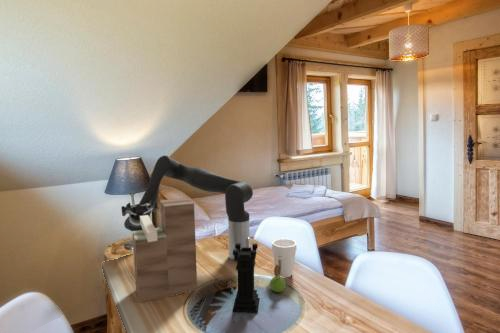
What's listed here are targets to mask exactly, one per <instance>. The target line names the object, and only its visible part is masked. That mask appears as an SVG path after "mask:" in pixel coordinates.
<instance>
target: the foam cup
mask: <svg viewBox="0 0 500 333" xmlns="http://www.w3.org/2000/svg"><path fill="white" fill-rule="evenodd" d="M271 250H272V255H273V261H274V266H275V265H276V264H277V263H278V260H279V259H281V260H282V262H281V274H280V276H282V277H288V276H291V275H292V276H293V273H294V266H295V259H296V251H297V242H296V241H295V240H294V239H289V238H278V239H275V240H273V241H272V243H271ZM279 255H280V256H282V257H279Z"/></svg>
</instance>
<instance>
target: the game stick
mask: <svg viewBox="0 0 500 333" xmlns="http://www.w3.org/2000/svg"><path fill="white" fill-rule="evenodd" d="M140 224H141V227H142V229H143V232H144V234H145V236H146V239H147V241H148V242H152V241H157V231H156V229H155V228H156V227H155V225H154V224H153V222H152V219H151V218H150V217H149V216H148V215H144V216H140Z"/></svg>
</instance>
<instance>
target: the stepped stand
mask: <svg viewBox="0 0 500 333" xmlns="http://www.w3.org/2000/svg"><path fill="white" fill-rule="evenodd" d="M159 206H160V207H159V208H160V209H159V210H160V212H159V213H160V227H155V229H156V231H157V241H152V242H148V241H147V239H146V236H145V234H144V232H143V230H137V231H131V232H132V245H133V261H134V275H135V277H134V279H135V289H136V290H135V291H136V296H137V299H138V303H139V304H140V302H141V303H145V301H146V302H150V301H149V300H151V301H154V299H155V300H159V298H160V299H164V298H163V297H165V298H168V297H167V296H169V297H172V296H171V295H174V296H177V295H176V294H179V295H181V294H180V293H184V294H186V293H185V292H188V293H190V292H189V291H193V292H195V291H194V290H197V291H198V278H197V277H198V273H197V250H196V249H197V247H196V246H197V245H196V223H195V218H196V216H195V203H194V202H193V201H192V200H191V199H190V198H188V197H181V198H179V197H178V198H171V199H161V200H160V199H159Z"/></svg>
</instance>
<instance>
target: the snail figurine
mask: <svg viewBox="0 0 500 333" xmlns="http://www.w3.org/2000/svg"><path fill="white" fill-rule="evenodd" d="M279 257H282V256H280V255H279ZM281 262H282V260H281V259H279V260H278V263H277V264H276V265H275V264H274V269H273V271H274V272H273V273H274V276H273V277H272V278H271V280H270V282H269V286H270V289H271V290H272V292H275V293H281V292H283V291H284V290H285V289H286V281H285V278H282V277H280V274H281Z"/></svg>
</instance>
